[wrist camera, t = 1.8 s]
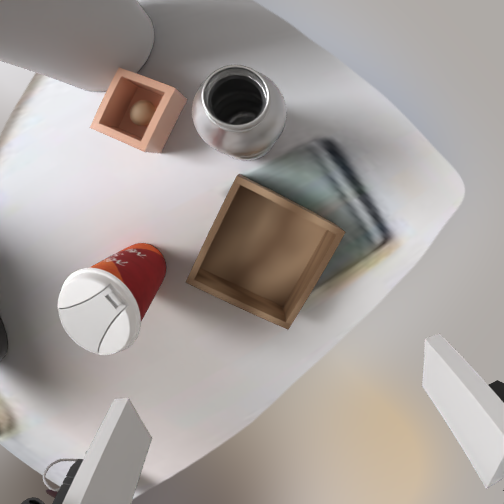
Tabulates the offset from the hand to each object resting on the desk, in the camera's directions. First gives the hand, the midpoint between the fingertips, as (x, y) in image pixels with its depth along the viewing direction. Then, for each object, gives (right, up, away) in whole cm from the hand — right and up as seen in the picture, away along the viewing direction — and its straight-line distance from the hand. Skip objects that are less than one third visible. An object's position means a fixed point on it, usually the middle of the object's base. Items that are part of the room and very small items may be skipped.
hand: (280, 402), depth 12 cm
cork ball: (-13, +22, +21) cm, 33 cm away
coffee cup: (-15, +4, +27) cm, 31 cm away
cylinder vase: (-19, +32, +19) cm, 42 cm away
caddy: (0, +7, +26) cm, 27 cm away
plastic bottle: (-2, +20, +23) cm, 30 cm away
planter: (-13, +22, +22) cm, 34 cm away
